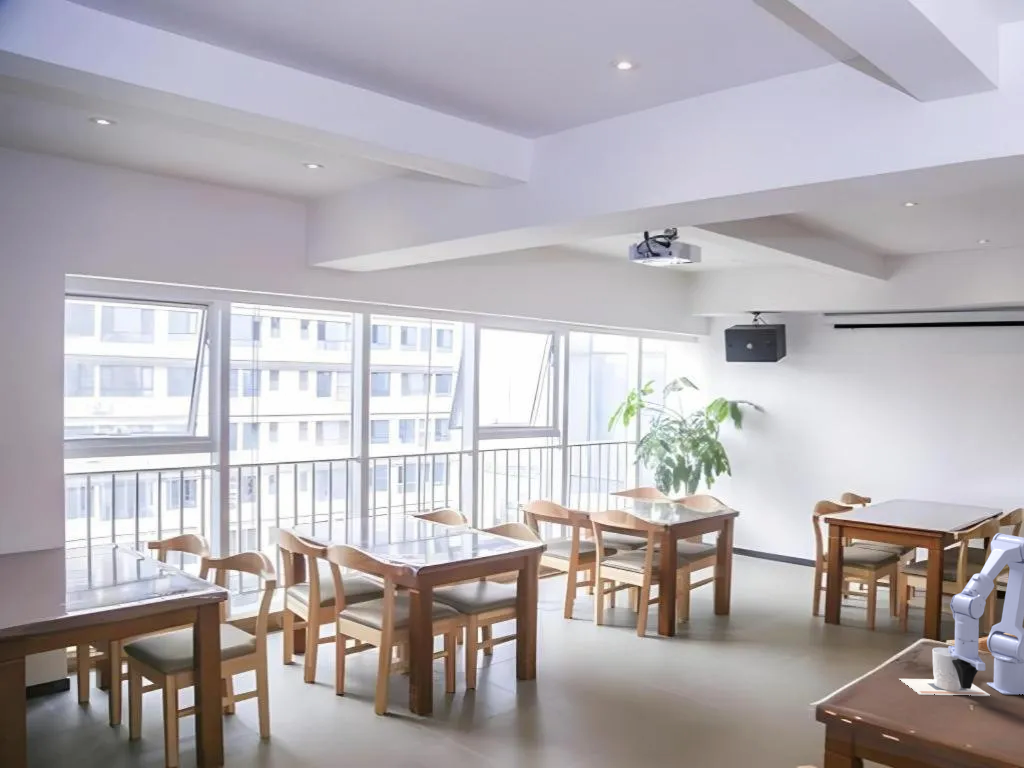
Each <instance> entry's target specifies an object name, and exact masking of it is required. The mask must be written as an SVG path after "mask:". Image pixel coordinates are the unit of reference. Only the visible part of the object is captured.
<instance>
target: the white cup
mask: <svg viewBox="0 0 1024 768" xmlns="http://www.w3.org/2000/svg"><path fill="white" fill-rule="evenodd" d="M931 652H932V673H933V674H932V675H933V679H934V685H935V686H936V687H938V688H941V689H944V690H950V691H958V690H960V689H961V686H960V682H959V677H958V674H957V671H956V668H955V666H954V664H953V663H952V660H957V659H958V658H954V657H952V656H950V653H948V647H933V648H932V651H931Z"/></svg>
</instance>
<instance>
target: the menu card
mask: <svg viewBox="0 0 1024 768" xmlns="http://www.w3.org/2000/svg"><path fill="white" fill-rule="evenodd" d="M898 680H899V681H900V680H901V681H900V682H901V683H903V684H904V683H905V684H904V685H906V686H907V685H908V686H909V687H908V686H907V687H908V688H910V689H911V688H912V689H913V690H912V689H911V690H912V691H914V692H915V693H916V692H917V694H918V695H919V696H953V695H969V696H970V695H971V696H970V697H991V696H990V695H991V694H990V693H988V692H986V691H985V690H983V689H982V688H980V687H979V686H977V685H975V684H974V683H972V686H971V689H963V688H962V687H961V689H960V690H958V691H950V690H944V689H941V688H938V687H936V686H935V685H934V678H933V679H932V678H930V679H929V678H898ZM934 694H935V695H934ZM969 696H968V697H969Z"/></svg>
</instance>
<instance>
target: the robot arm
mask: <svg viewBox="0 0 1024 768" xmlns="http://www.w3.org/2000/svg"><path fill="white" fill-rule="evenodd" d="M990 551H991V552H990V553H989V555H988V558H987V559H986V561H985V564H984V565H983V568H982V569H981V571H980V572H978V573H975V574H973V575H972V577H970V579H969V581H968V582H967V584H966V585H965V586H964V588H963V589H962V591H961V592H959V593H956V594H954V595H953V596H952V598H951V601H950V603H949V607H950V610H951V612H952V618H953V620H954V645H948V646H947V648H948V653H950V656H952V657H954V658H958V659H957V660H952V663H953V664H954V666H955V668H956V671H957V674H958V677H959V682H960V686H961V687H962V688H963V689H971V686H972V684H974V683H973V682H974V680H975V677H976V675H977V673H978V672H979V671H986V663H985V662H984V661H983V660H982V658H981V657H980V656H979V634H980V633H979V632H980V631H979V628H980V627H979V625H980V623H979V622H980V620H979V619H980V618H981V617H982V616H983V615H984V612H985V606H986V604H987V602H986V600H987V599H988V597H989V595H990V594H991V593H992V591H993V590H994V588H995V583H994V580H995V579H996V578H997V576H998V575H999V574H1000V572H1002V570H1003V569H1004V567H1006V565H1007V566H1008V567H1009V571H1008V572H1009V573H1008V579H1007V585H1006V590H1005V596H1004V603H1003V608H1002V614H1001V621H1000V622H997V623H996V624H994V625H992V626H991V630H990V632H989V634H988V636H987V639H986V646H987V649H988V651H989V652H990V653H991V656H992V657H993V682H986V685H987V686H989V687H990V688H992V689H994V690H995V691H996V692H999V693H1000V694H1002V695H1019V694H1020V695H1022V694H1023V695H1024V627H1023V625H1024V537H1022V536H1015V535H1012V534H1004V533H1002V532H997V533H995V535H994V536H993V537H992V540H991V542H990Z"/></svg>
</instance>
